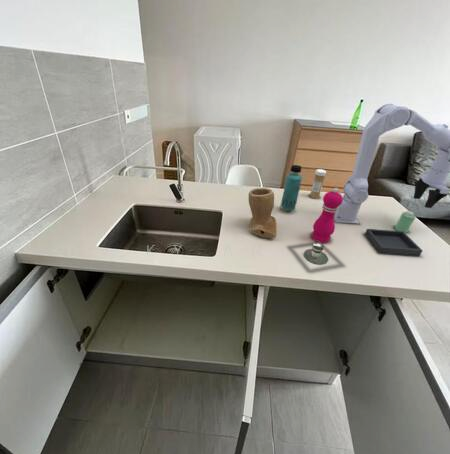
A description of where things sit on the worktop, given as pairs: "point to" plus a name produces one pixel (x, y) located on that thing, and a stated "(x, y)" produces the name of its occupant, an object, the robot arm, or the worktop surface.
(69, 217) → the worktop surface
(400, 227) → the mint green cylinder
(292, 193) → the beverage bottle
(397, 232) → the dark gray rectangular tray
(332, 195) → the pepper mill
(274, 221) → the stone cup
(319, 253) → the pot lid
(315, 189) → the sprinkles bottle
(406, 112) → the robot arm
